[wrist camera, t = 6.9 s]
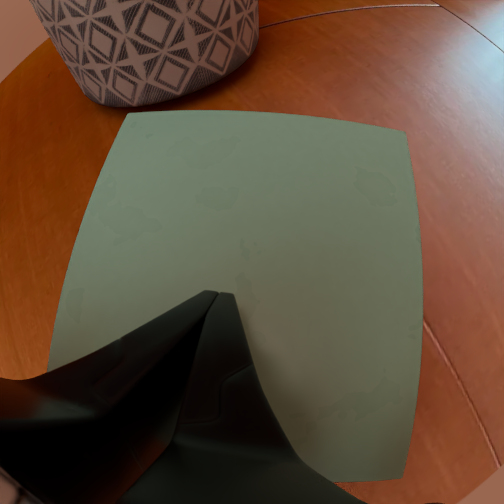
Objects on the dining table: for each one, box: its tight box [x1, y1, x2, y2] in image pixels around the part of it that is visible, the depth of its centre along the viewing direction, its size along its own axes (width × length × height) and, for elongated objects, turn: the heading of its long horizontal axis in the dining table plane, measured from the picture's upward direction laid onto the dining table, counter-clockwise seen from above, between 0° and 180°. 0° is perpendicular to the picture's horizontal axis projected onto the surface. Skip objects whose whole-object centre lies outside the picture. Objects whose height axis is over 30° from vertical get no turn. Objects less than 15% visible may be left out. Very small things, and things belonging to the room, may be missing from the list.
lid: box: [47, 110, 423, 482], centre depth 11 cm, size 14×14×1 cm
